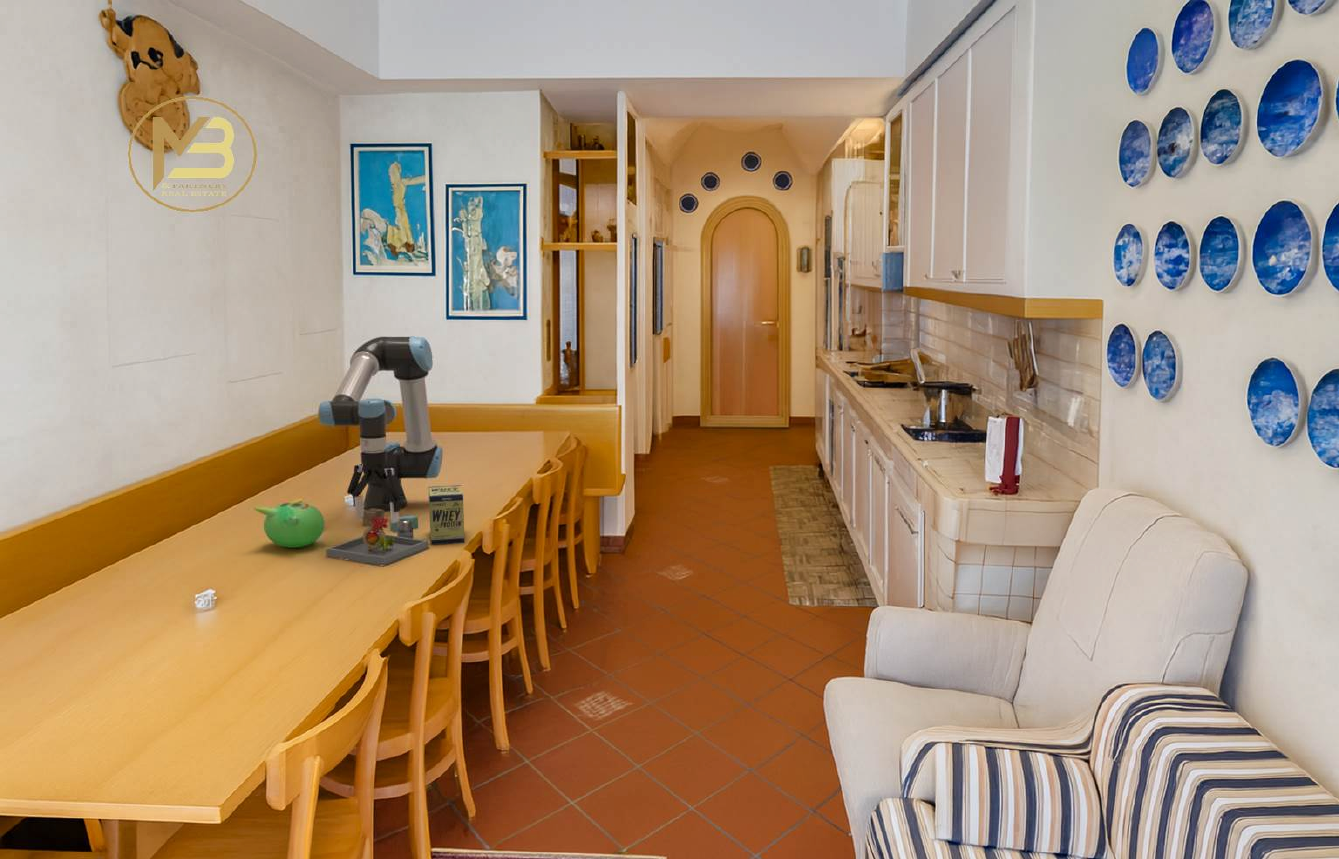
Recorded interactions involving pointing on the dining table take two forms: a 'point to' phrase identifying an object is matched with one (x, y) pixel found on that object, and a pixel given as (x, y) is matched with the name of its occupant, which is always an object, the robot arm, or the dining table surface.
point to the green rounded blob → (292, 523)
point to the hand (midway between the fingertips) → (377, 519)
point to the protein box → (446, 514)
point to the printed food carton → (373, 537)
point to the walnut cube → (372, 513)
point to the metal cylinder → (405, 528)
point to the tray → (378, 550)
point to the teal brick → (415, 519)
